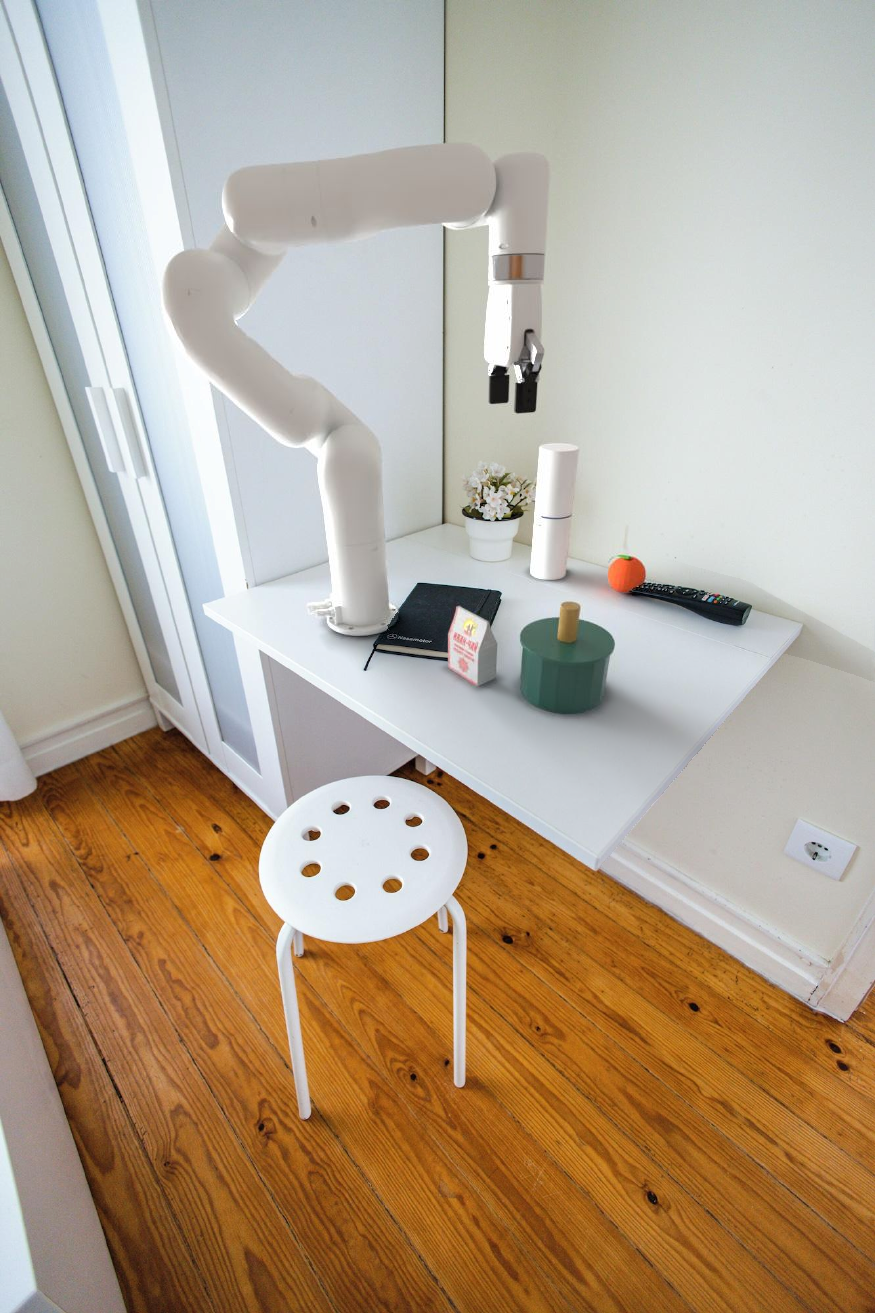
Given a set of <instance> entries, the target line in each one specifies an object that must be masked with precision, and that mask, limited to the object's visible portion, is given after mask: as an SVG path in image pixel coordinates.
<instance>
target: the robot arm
mask: <svg viewBox="0 0 875 1313" xmlns="http://www.w3.org/2000/svg"><path fill="white" fill-rule="evenodd" d="M550 182H551V165H550V161H549V160H548V158H547V157H546V156H545V155H543V154H541V153H539V152H531V151H529V152H528V151H521V152H512V153H505V154H503V155H501V156H499V157H497V158H496V159H495V160H494V162H493V161H492V160H491V158H490V156H489V155H488V154H487V152H486V151H484V150H483V149H482V148H481V147H479V146H477V145H475V144H473V143H470V142H461V141H460V142H457V141H456V142H444V143H442V142H441V143H432V144H431V143H430V144H421V145H411V146H403V147H402V146H401V147H397V148H391V149H386V150H380V151H376V152H371V153H361V154H356V155H351V156H346V157H339V158H330V159H329V158H326V159H317V160H309V161H296V162H295V161H294V162H281V163H271V164H260V165H257V164H256V165H250V166H245V167H241V168H239V169H237V170H234V171H233V172H231V173H230V175H228V177H227V178H226V180H225V182H224V184H223V187H222V192H221V208H222V213H223V216H224V219H225V221H224V222H223V224H222V226H220V228H219V230H218V231H217V234H216V235H215V237H213V240H212V241H211V243H210V244H209V245H208V247H207V249H205V248H199V247H197V248H187V249H185V250H182V251H180V252H178V253H176V254H175V255H174V256H173V257H172V258H171V259H170V260H169V261H168V263H167V265H166V266H165V267H166V268H165V270H164V273H163V276H162V280H161V289H160V290H161V291H160V292H161V293H160V297H161V298H160V299H161V300H160V301H161V308H162V314H163V318H164V322H165V324H166V327H167V330H168V333H169V335H170V337H171V339H172V341H173V342H174V343H175V345H176V348H178V350H179V352H180V353H181V355H183V357H184V358H185V359H186V360H187V362H189V364H190V365H191V366H192V367H193V368H194V369H195V370H196V371H197V372H198V373H199V374H201V375H202V376H203V377H204V378H205V379H206V380H207V381H209V382H210V383H211V384H212V385H213V386H215V387H216V388H217V389H218V390H219V391H220V392H221V393H223V394H224V395H225V396H226V397H227V398H228V399H229V400H231V402H232V403H234V404H235V405H236V406H237V407H238V408H239V409H241V410H242V411H243V412H244V413H245V414H246V415H247V416H248V417H250V419H252V420H253V421H254V422H255V423H257V424H258V425H259V426H260V427H261V428H262V429H263V430H264V431H265V432H267V433H268V434H269V435H270V436H271V437H272V438H274V439H275V440H276V441H277V442H278V443H280V444H282V445H284V446H285V447H289V448H294V449H299V448H306V449H307V450H308V451H309V452H310V453H312V454H313V455H314V456H315V457H316V458H318V460H317V480H318V487H319V492H320V498H321V504H322V509H323V518H324V524H325V526H324V527H325V532H326V533H325V535H326V542H327V550H328V558H329V566H330V567H329V568H330V578H331V586H332V593H330V594H329V595H330V598H327V599H325V601H320V602H318V601H316V602H315V601H314V602H308V603H306V604H307V612H308V615H313V614H315V615H316V619H322V618H326V623H327V625H328V627H329V628H330V629H331V630H333V631H334V632H337V633H339V634H341V635H346V636H352V637H365V636H371V635H372V636H373V635H377V634H380V633H384V632H386V631H388V630H389V629H388V626H387V625H388V624H390V622H391V620H392V618H394V616H395V614H396V613H397V612H398V613H399V610H398V608H397V607H396V606H395V605H394V604H392V603H390V593H389V592H390V591H389V576H388V559H387V543H386V529H385V512H384V510H385V509H384V495H383V494H384V493H383V470H382V469H383V468H382V467H383V466H382V465H383V464H382V462H383V461H382V460H383V459H382V448H381V444H380V441H379V439H378V437H377V435H376V434H375V433H374V432H373V430H372V429H371V428H370V427H369V426H368V425H367V424H366V423H365V422H364V421H362V420H361V419H360V418H359V416H357V415H356V414H355V413H354V412H352V410H351V409H350V408H348V407H347V406H346V405H345V404H344V403H343V402H342V401H341V400H340V399H338V397H337V396H335V395H334V393H332V392H331V391H330V390H329V389H328V388H327V387H325V386H324V385H323V384H322V383H321V382H320V381H318V380H317V379H316V378H314V377H312V376H309V375H308V374H304V373H299V372H298V373H297V372H295V373H294V372H293V373H292V372H291V371H289V370H288V369H287V368H286V367H285V366H283V365H282V364H281V363H280V362H279V361H278V360H277V359H275V358H274V357H273V355H271V354H270V353H269V351H267V350H266V349H265V348H264V347H263V346H262V345H261V344H259V343H258V342H257V341H256V340H255V339H254V338H252V337H251V336H249V335H248V334H247V333H246V332H245V331H244V330H243V329H242V328H241V326H239V325H238V323H237V321H236V320H239V319H240V318H241V317H243V316H244V315H245V314H246V313H247V312H248V311H249V309H250V308H251V307H252V306H253V304H254V303H255V301H256V300H257V298H258V297H259V295H260V294H261V292H262V291H263V289H264V288H265V287H266V285H267V284H268V282H269V280H270V279H271V277H272V276H273V275H274V274H275V272H276V271H277V269H278V267H279V266H280V264H281V263H282V262H283V260H284V259H285V256H286V255H287V253H288V252H289V250H290V249H291V248H299V247H311V246H321V245H332V244H333V245H334V244H335V245H336V244H346V243H355V242H359V241H366V240H368V239H371V238H373V237H374V236H377V235H379V234H381V233H384V232H385V233H386V232H388V231H392V230H393V231H394V230H398V229H405V228H410V227H411V228H412V227H419V226H420V227H421V226H430V225H431V226H432V225H443V226H444V227H445V228H447V229H450V230H456V231H462V230H467V229H473V228H478V227H484V226H489V229H488V230H489V231H488V232H489V234H488V242H489V243H488V279H487V280H488V281H487V282H488V283H487V284H488V286H489V290H488V298H487V303H486V316H485V329H484V330H485V331H484V332H485V333H484V350H483V354H484V355H483V357H484V359H485V361H486V362H487V363H488V369H487V373H488V403H489V404H490V405H498V404H499V405H501V404H508V403H509V402H510V377H511V376H510V375H511V374H508V372H509V369H510V367H511V366H513V367H514V370H515V374H516V378H517V382H515V383H514V401H513V402H514V405H513V411H514V413H515V414H530V413H531V414H532V413H536V411H537V399H538V383H539V381H540V372H541V371H542V369H543V366H542V362H543V359H544V355H545V347H544V346H543V345H542V332H543V331H542V330H543V324H542V323H543V302H542V299H543V298H542V285H545V284H544V283H545V271H546V270H545V267H546V253H547V252H546V251H547V249H546V248H547V232H548V231H547V230H548V217H549V216H548V215H549V198H550ZM387 629H388V630H387Z"/></svg>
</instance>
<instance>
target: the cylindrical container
mask: <svg viewBox="0 0 875 1313" xmlns="http://www.w3.org/2000/svg"><path fill="white" fill-rule="evenodd" d="M579 451H580V447H579V446H578V445H575V444H573V443H565V442H564V443H563V442H552V443H544V444H540V445H539V452H538V464H537V465H538V466H537V479H536V480H537V481H536V493H535V506H534V521H533V533H532V544H531V545H532V547H531V559H530V575H531V576H532V577H534V578H536V579H539V580H545V581H556V580H560V579H563V578H564V577H565V576H566V574H567V566H568V564H567V563H568V556H569V555H568V554H569V546H570V535H571V527H572V516H573V515H572V514H573V507H574V499H575V490H576V489H575V488H576V482H577V481H576V480H577V471H578V462H579Z"/></svg>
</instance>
